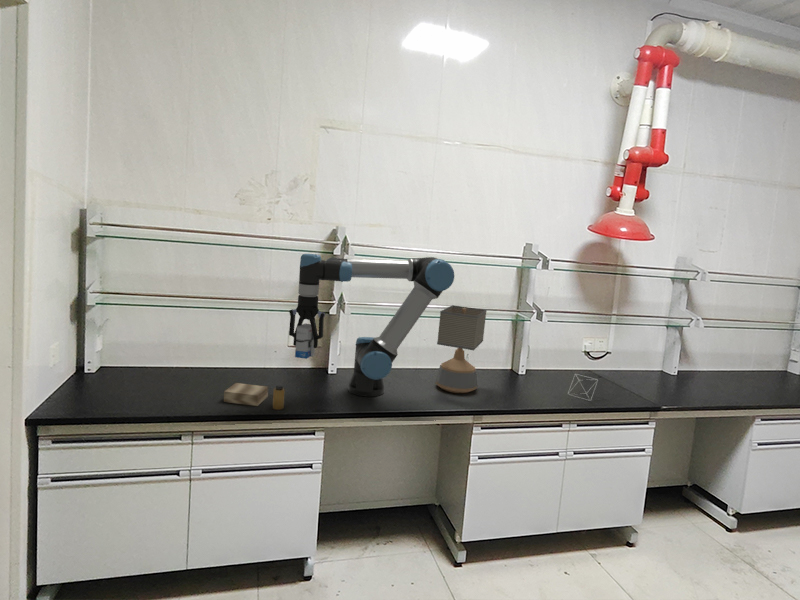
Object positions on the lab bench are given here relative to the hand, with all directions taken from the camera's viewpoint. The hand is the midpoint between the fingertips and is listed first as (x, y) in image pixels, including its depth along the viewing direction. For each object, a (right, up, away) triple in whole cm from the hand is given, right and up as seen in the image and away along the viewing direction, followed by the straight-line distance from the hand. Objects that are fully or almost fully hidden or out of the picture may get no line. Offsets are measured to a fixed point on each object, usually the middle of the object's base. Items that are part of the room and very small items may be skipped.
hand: (304, 354), depth 206 cm
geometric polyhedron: (+120, -24, +42) cm, 129 cm away
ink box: (0, -1, 0) cm, 1 cm away
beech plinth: (-22, -17, -1) cm, 28 cm away
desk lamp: (+61, -19, +36) cm, 74 cm away
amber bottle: (-9, -19, -7) cm, 22 cm away
